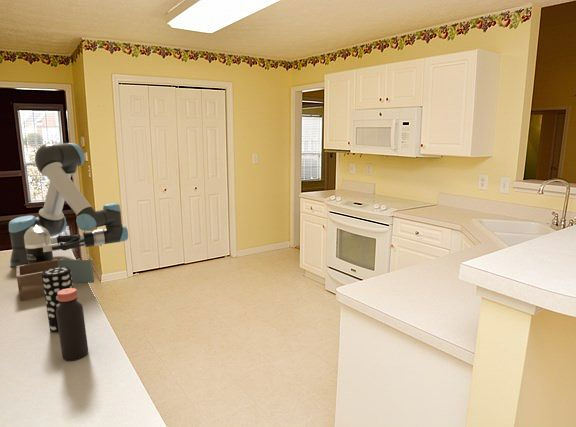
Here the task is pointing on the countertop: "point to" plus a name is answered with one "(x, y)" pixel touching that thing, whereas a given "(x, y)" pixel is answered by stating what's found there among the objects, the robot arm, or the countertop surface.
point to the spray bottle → (37, 244)
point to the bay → (32, 279)
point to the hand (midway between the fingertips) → (41, 245)
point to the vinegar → (71, 325)
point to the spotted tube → (55, 291)
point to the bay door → (79, 269)
